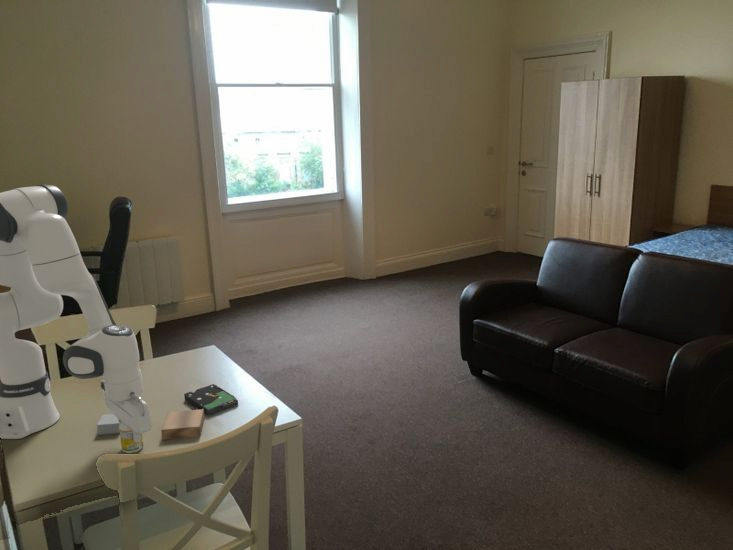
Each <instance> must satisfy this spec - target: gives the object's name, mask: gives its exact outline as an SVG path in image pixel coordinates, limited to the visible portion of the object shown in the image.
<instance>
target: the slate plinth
mask: <svg viewBox="0 0 733 550" xmlns="http://www.w3.org/2000/svg"><path fill="white" fill-rule="evenodd" d="M119 425H120V424H119V421H118V419H117V417H116V416H115V415H114V414H113V413H108V414H102V415H101V418H100V419H99V421H98V422H97V424H96V427H97V433H98V436H101V435H103V436H104V435H111V434H113V435H114V434H120V432H119Z"/></svg>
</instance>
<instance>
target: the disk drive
mask: <svg viewBox="0 0 733 550" xmlns="http://www.w3.org/2000/svg"><path fill="white" fill-rule="evenodd" d="M184 401H185V402H186V403H188V404H190V405H191V406H193V407H194V408H195V409H196V410H200V409H204V416H207V417H210V416H213V415H216V414H218V413H222V412H223V411H226V410H227V411H228V410H229V409H232V408H235V407H238V406H239V400H238V399H237V397H236V396H234V395H233V394H231V393H229V392H227V391H226V390H225V389H223V388H221V387H220V386H218V385H216V384H214V383H212V384H209V385H207V386H203V387H200V388H198V389H196V390H195V391H194V392H193V391H188V392H186V393H184Z"/></svg>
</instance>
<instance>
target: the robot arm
mask: <svg viewBox="0 0 733 550" xmlns="http://www.w3.org/2000/svg"><path fill="white" fill-rule="evenodd" d="M68 203H69V202H68V200H67V197H66V196H65V194H64V192H63V191H61V189H59V188H58V187H57V186H56V185H52V184H38V185H35V186H25V187H17V188H13V189H11V190H7V191H6V190H5V191H2V192H0V286H3V287H8V288H10V290H8V291H5V292H0V437H1V439H0V440H5V439H6V440H18V439H20V440H21V439H24V438H25V437H26V438H27V436H29V435H31V434H34V433H37V432H40V431H42V430H45V429H47V428H49V427H51V426H53V425H55V423H56V422H58V420H59V419H60V416H61V415H60V412H59V411H58V410H57V407H56V404H55V403H54V399H53V397H52V393H51V382H50V378H49V373H48V371H47V370H46V366H45V361H44V355H43V349H42V348H41V346H40V345H39V344H37V343H36V342H33V341H30V340H26V339H19V338H16V336H15V335H16V332H18V331H21V330H26V329H27V330H28V329H31V328H35V327H40V326H43V325H45V324H47V323H51V322H52V321H53V322H54V320H57V319H59V318H60V317H61V315H62V313H63V310H64V300H63V297H62V296H68V297H71V298H73V299H74V300H75V301H76V302H77V303H78V305H79V307H80V310H81V312H82V314H83V317H84V319H85V321H86V323H87V325H88V332H87V334H86V335H85V336H83V337H82V338H79V339H78V340H77V341H75V342H73V343H72V344H70V345H69V347H67V348H66V349H65V350H64V352H63V354H62V355H63V356H62V364H63V366H64V368H65V371H66V372H67V373H68V374H69V375H71V376H72V377H73V378H76V379H79V380H86V379H96V378H99V377H102V379H101V380H99V385H100V388H101V389H102V394H103V397H104V402H105V406H106V408H107V410H108V411H109V412H110V413H111V414H114V415H115V416H116V417H117V419H118V421H119V424H120V423H121V418H122V419H123V422H124V423H125V424H126V425H127V426H129V427H130V428H131V429H132V431H133V434H132V440H133V441H134V442H138V441H140V440H141V434H142V435H143V434H145V433H147V432H150V431H151V430H152V428H153V426H152V425H153V424H152V419H151V418H152V417H151V413H150V409H149V406H148V404H147V402H145V400H143V399H142V398H141V397H140V395H142V394H143V392H144V383H143V375H142V371H141V367H140V365H139V363H140V351H139V347H138V346H139V345H138V341H137V338H136V335H135V332H134V331H133V329H131V328H130V327H129V326H126V325H123V324H117V323H116V322H115V319H114V318H113V316H112V313H111V311H110V309H109V306H108V304H107V302H106V300H105V297H104V295H103V293H102V290H101V288H100V287H99V284H98V282H97V280H96V279H95V277H94V276H93V275H92V274H91V273H90V272H89V270H88V268H87V267H86V264H85V262H84V259H83V256H82V254H81V252H80V248H79V245H78V242H77V240H76V237H75V235H74V234H73V231H72V229H71V227H70V225H69V224H68V222H67V220H66V218H67V216H68V213H69V204H68Z"/></svg>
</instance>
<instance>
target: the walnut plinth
mask: <svg viewBox="0 0 733 550" xmlns="http://www.w3.org/2000/svg"><path fill="white" fill-rule="evenodd" d="M204 422H205V414H204V409H200V410H198V409H190V410H179V411H177V410H176V411H168V412H167V413H166V415H165V419H164V422H163V423H162V424H163V425H162V427H161V439H162V441H163V440H165V441H166V440H175V439H184V438H187V437H188V438H196V437H197V438H198V437H201V436H202V433H203V432H202V431H203V427H204V424H205V423H204ZM201 432H202V433H201Z"/></svg>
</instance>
